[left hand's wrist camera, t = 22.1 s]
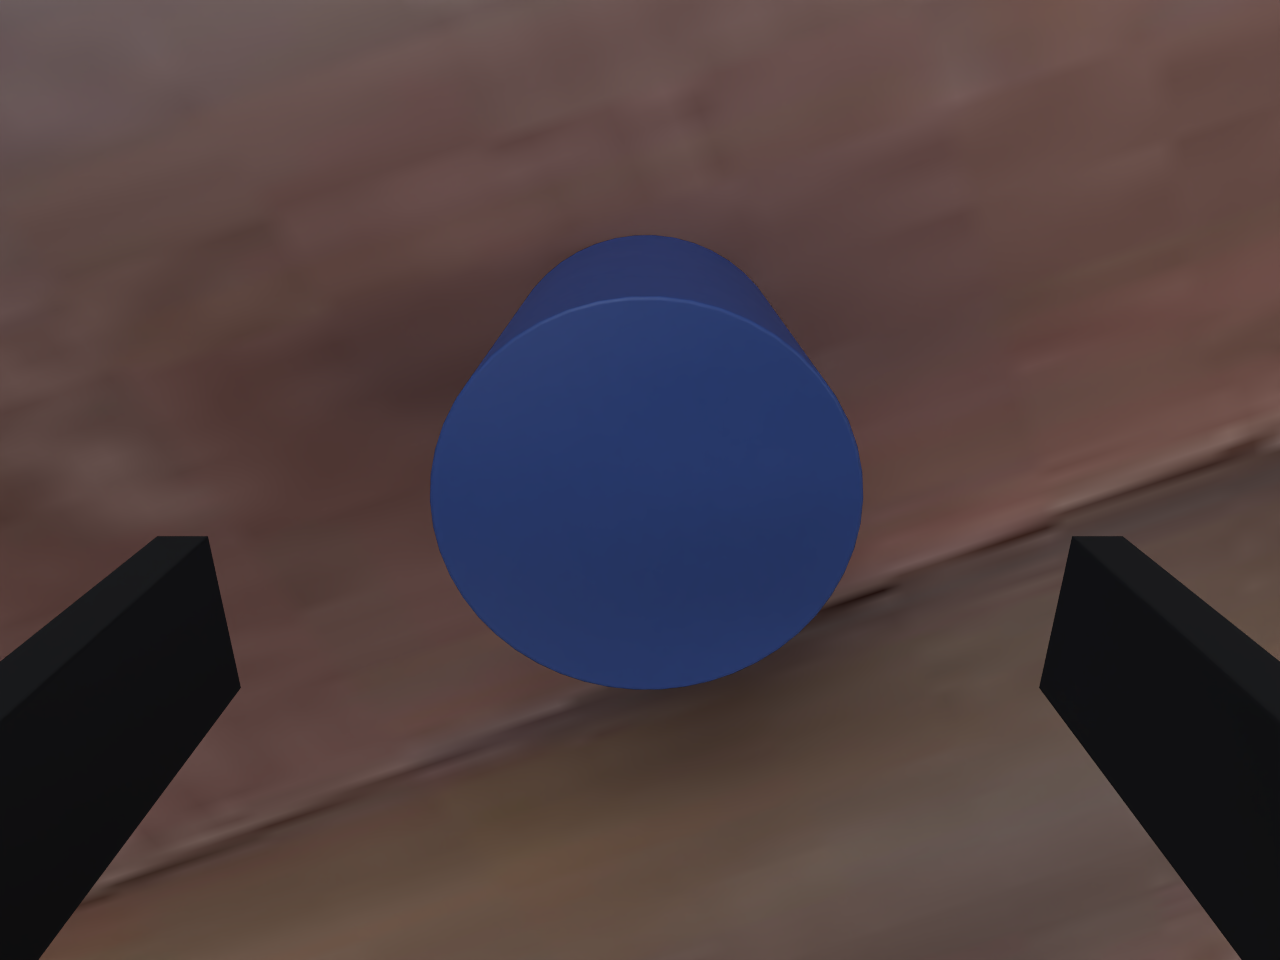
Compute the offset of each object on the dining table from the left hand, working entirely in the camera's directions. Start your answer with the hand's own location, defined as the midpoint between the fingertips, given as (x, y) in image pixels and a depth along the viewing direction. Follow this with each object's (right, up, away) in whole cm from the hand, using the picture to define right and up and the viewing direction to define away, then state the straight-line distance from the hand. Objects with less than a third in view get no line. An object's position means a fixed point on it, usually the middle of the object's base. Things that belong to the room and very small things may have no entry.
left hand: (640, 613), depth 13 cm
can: (0, +5, +10) cm, 11 cm away
